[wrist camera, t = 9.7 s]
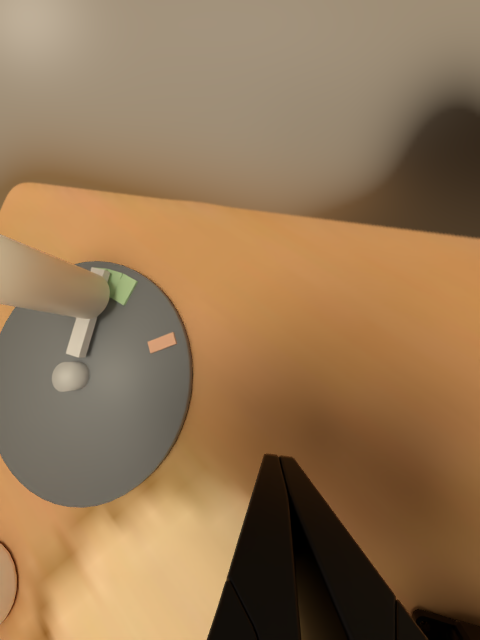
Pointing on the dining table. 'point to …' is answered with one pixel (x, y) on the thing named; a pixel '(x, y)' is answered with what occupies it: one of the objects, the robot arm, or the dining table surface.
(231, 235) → the dining table surface
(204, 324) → the dining table surface
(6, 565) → the spray bottle
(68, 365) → the grey round platter
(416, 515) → the dining table surface
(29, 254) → the tall cream cylinder
